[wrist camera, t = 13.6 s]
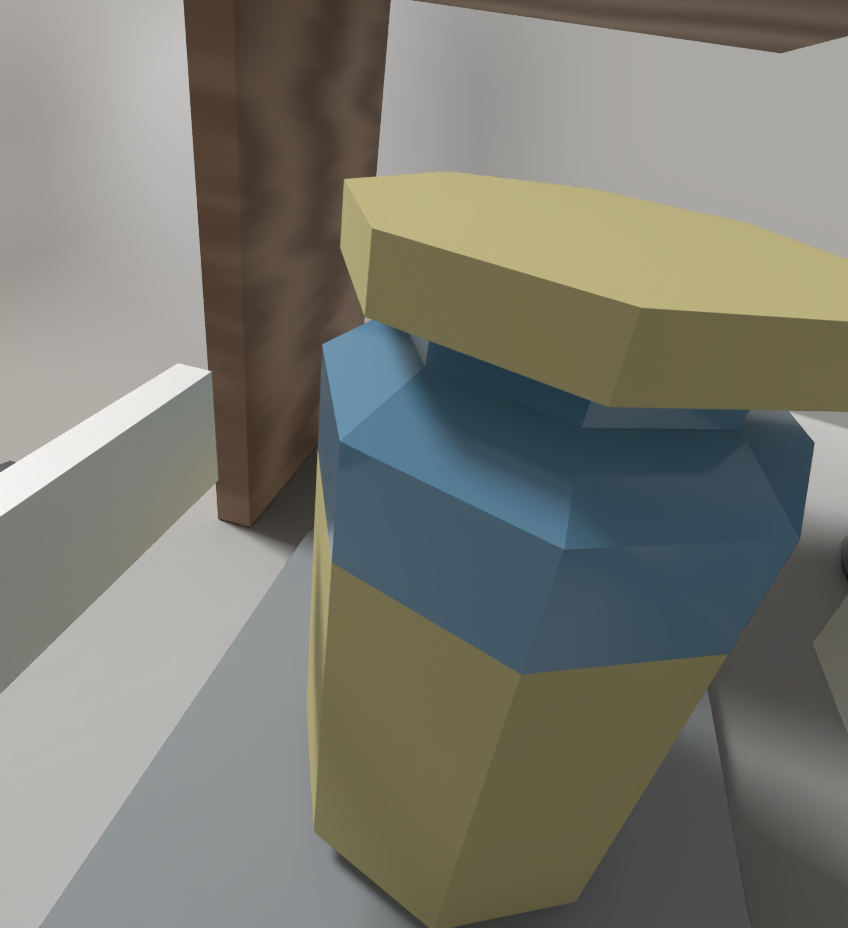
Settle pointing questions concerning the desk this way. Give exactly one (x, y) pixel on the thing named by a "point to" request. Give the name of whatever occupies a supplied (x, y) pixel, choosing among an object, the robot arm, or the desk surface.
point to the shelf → (338, 186)
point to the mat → (318, 864)
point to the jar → (543, 516)
